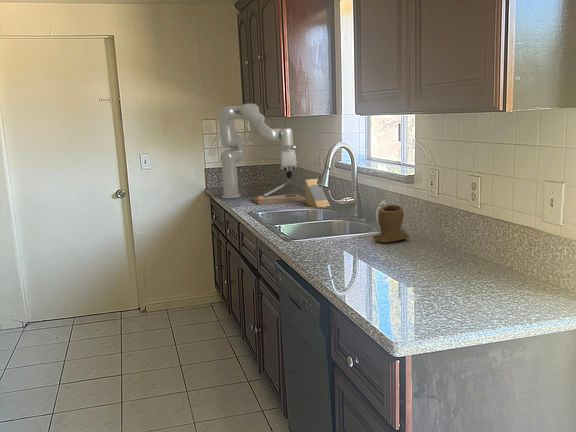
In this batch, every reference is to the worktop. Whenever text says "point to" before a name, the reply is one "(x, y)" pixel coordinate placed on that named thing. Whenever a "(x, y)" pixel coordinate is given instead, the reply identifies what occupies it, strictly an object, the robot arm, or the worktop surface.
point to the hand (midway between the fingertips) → (289, 177)
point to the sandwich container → (315, 194)
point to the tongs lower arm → (280, 196)
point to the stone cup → (391, 224)
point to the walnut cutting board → (278, 199)
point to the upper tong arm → (278, 188)
